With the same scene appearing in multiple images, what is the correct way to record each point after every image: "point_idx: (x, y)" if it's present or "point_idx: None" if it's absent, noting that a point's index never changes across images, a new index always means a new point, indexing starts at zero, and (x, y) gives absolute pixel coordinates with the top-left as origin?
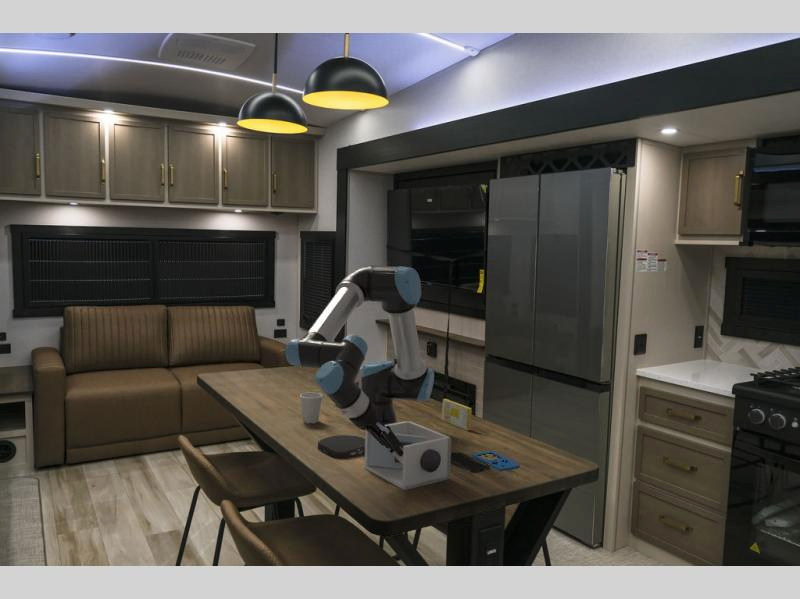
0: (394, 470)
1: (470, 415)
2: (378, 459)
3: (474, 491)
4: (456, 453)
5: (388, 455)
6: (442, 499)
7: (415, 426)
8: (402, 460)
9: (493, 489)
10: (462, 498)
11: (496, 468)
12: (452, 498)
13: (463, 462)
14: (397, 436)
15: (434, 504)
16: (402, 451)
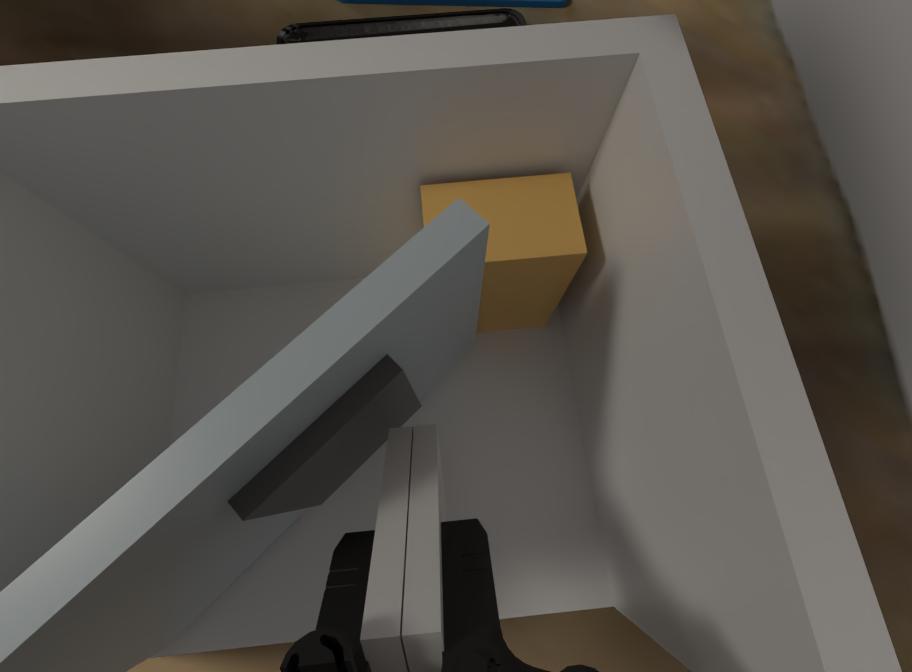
0: (340, 500)
1: None
2: (194, 605)
3: (767, 235)
4: (288, 42)
5: (244, 541)
6: (832, 450)
7: (81, 111)
8: (444, 510)
9: (768, 148)
10: (843, 341)
11: (540, 4)
12: (830, 389)
13: None
14: (211, 486)
15: (895, 540)
16: (489, 556)
